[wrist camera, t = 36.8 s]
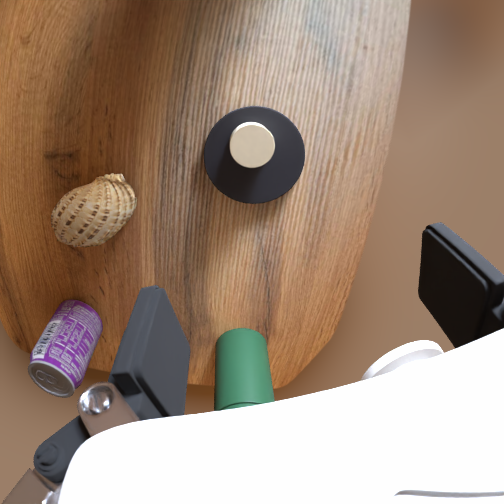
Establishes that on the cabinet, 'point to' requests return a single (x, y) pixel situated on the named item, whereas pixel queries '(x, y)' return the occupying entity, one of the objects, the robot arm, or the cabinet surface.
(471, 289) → the robot arm
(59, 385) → the beverage can
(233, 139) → the cap
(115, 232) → the seashell
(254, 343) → the bottle
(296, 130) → the coaster
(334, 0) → the cabinet surface
